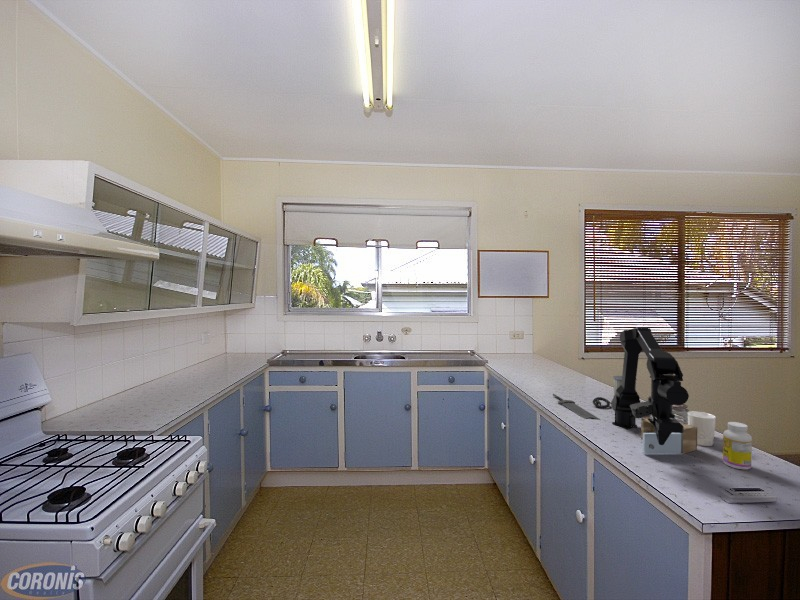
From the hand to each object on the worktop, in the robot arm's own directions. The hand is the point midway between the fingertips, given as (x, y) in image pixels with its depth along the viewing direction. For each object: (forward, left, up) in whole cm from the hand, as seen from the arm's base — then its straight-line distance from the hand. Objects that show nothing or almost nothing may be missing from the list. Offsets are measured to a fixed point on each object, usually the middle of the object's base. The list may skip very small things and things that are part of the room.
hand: (660, 444), depth 122 cm
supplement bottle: (+12, +18, -5) cm, 22 cm away
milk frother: (-42, +36, -5) cm, 55 cm away
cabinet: (-7, +16, -5) cm, 18 cm away
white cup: (-3, +28, -5) cm, 29 cm away
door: (-2, +5, -5) cm, 7 cm away
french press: (-15, +33, -5) cm, 37 cm away
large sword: (-52, +20, -6) cm, 57 cm away
